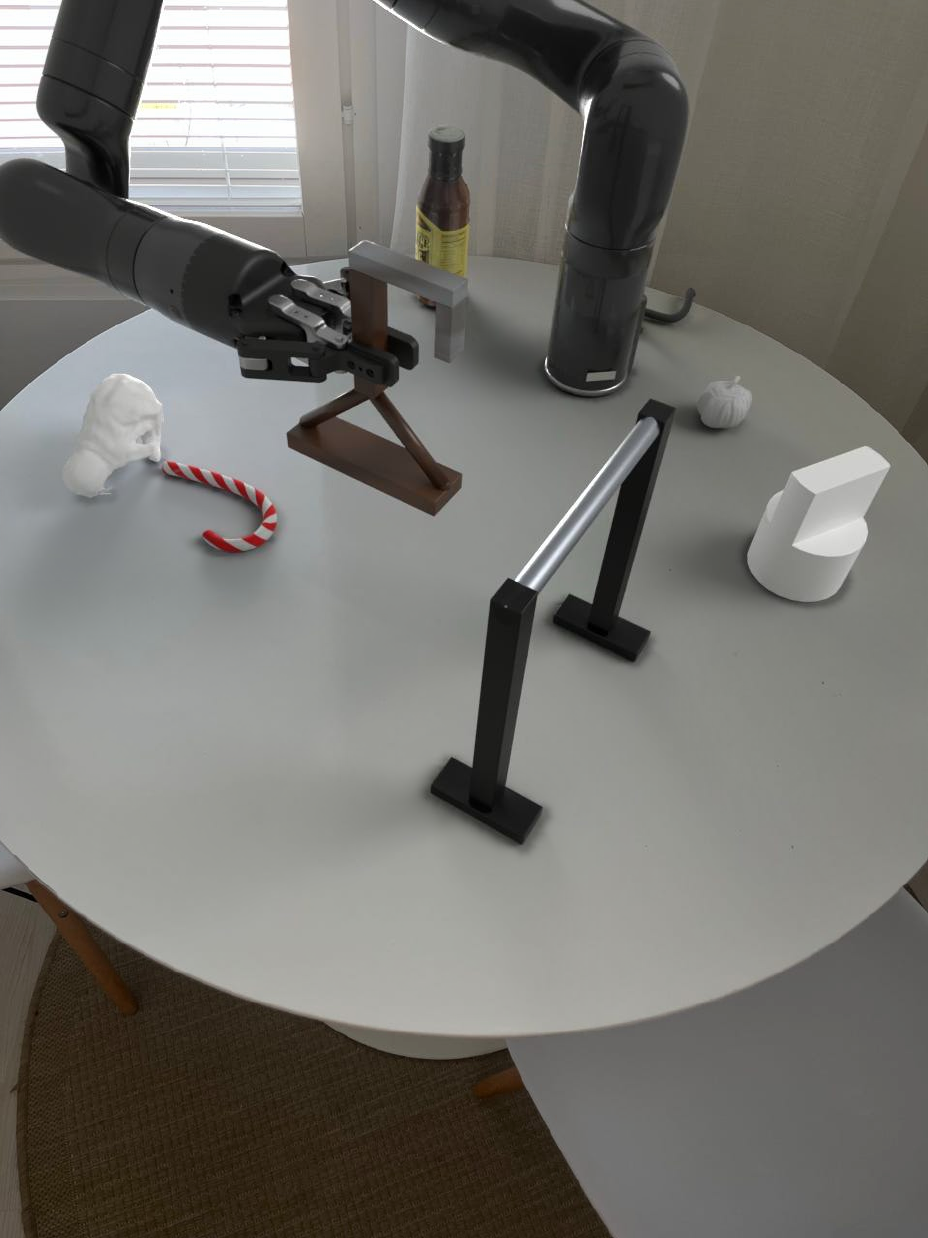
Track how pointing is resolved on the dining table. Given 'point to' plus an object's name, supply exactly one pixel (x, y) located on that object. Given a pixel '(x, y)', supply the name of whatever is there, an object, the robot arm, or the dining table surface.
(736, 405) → the garlic
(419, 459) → the hanger
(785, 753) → the dining table surface
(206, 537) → the candy cane
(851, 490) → the cylinder with rectangular tab
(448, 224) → the sauce bottle
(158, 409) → the white lumpy figurine
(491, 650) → the rail
